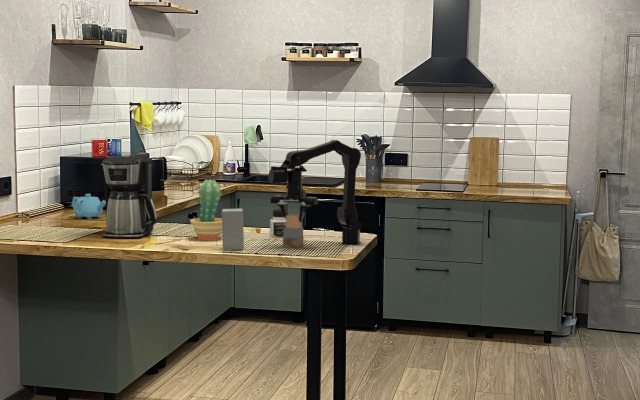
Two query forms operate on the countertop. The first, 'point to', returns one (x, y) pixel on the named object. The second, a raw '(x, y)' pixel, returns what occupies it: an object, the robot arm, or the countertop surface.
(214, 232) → the potted cactus
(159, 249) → the countertop surface
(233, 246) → the skincare box
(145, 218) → the coffee maker
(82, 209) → the teapot
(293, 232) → the charcoal block
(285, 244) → the walnut block
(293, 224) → the terracotta cube
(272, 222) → the medicine bottle
